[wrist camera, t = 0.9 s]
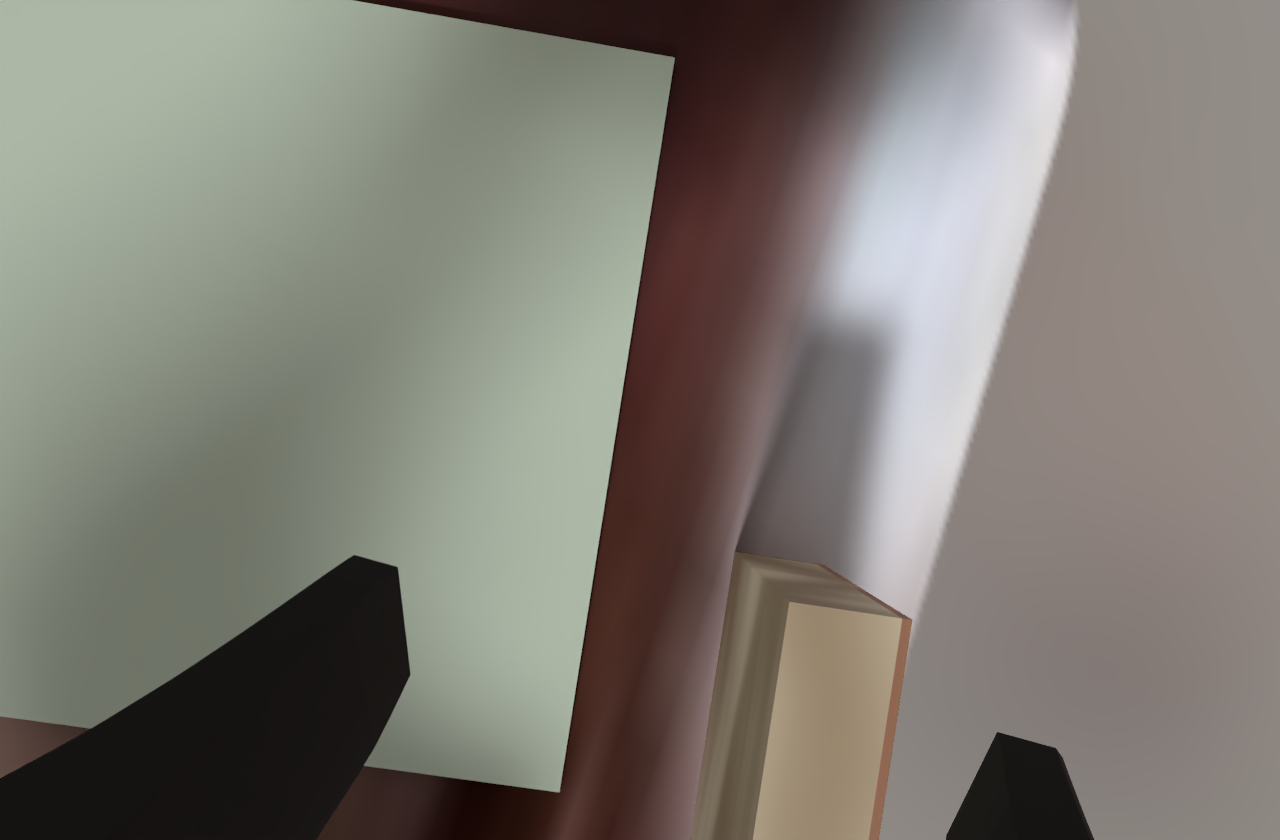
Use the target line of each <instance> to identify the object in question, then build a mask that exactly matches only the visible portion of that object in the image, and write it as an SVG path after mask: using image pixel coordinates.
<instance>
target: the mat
mask: <svg viewBox="0 0 1280 840" xmlns="http://www.w3.org/2000/svg"><path fill="white" fill-rule="evenodd" d="M674 60H675V57H669V56H664V55H658V54H652V53H647V52H641V51H635V50H630V49H624V48H619V47H613V46H607V45H602V44H596V43H590V42H585V41H579V40H574V39H568V38H562V37H557V36H551V35H545V34H540V33H534V32H529V31H523V30H517V29H512V28H506V27H500V26H495V25H489V24H484V23H478V22H472V21H467V20H461V19H455V18H450V17H444V16H439V15H433V14H427V13H422V12H416V11H410V10H405V9H399V8H394V7H388V6H382V5H377V4H371V3H365V2H360V1H354V0H0V716H1V717H9V718H16V719H23V720H31V721H38V722H45V723H53V724H60V725H67V726H75V727H82V728H89V729H91V728H92V727H94V726H96V725H98V724H99V723H101V722H103V721H104V720H106V719H108V718H109V717H111V716H112V715H114V714H116V713H117V712H119V711H121V710H122V709H124V708H125V707H127V706H129V705H130V704H132V703H134V702H135V701H137V700H138V699H140V698H142V697H143V696H145V695H147V694H148V693H150V692H151V691H153V690H155V689H156V688H158V687H159V686H161V685H163V684H164V683H166V682H168V681H169V680H171V679H172V678H174V677H175V676H177V675H179V674H180V673H182V672H183V671H185V670H186V669H188V668H189V667H191V666H192V665H194V664H195V663H197V662H198V661H200V660H201V659H203V658H204V657H206V656H207V655H209V654H210V653H212V652H213V651H215V650H216V649H218V648H219V647H221V646H222V645H224V644H225V643H227V642H228V641H230V640H231V639H233V638H234V637H236V636H237V635H239V634H240V633H242V632H243V631H245V630H246V629H247V628H249V627H250V626H252V625H253V624H255V623H256V622H258V621H259V620H260V619H262V618H263V617H265V616H266V615H268V614H269V613H271V612H272V611H273V610H275V609H276V608H278V607H279V606H281V605H282V604H283V603H285V602H286V601H288V600H289V599H291V598H292V597H293V596H295V595H296V594H298V593H299V592H300V591H302V590H303V589H305V588H306V587H308V586H309V585H310V584H312V583H313V582H315V581H316V580H318V579H319V578H320V577H322V576H323V575H325V574H326V573H328V572H329V571H331V570H332V569H333V568H335V567H336V566H338V565H339V564H341V563H342V562H344V561H345V560H347V559H348V558H350V557H351V556H353V555H356V556H360V557H364V558H367V559H371V560H375V561H378V562H382V563H385V564H389V565H393V566H396V567H398V572H399V581H400V589H401V598H402V606H403V615H404V623H405V632H406V640H407V649H408V657H409V666H410V674H411V675H410V677H409V679H408V681H407V683H406V685H405V687H404V689H403V691H402V694H401V696H400V698H399V700H398V702H397V704H396V706H395V708H394V710H393V712H392V714H391V717H390V718H389V720H388V722H387V724H386V726H385V728H384V730H383V732H382V734H381V736H380V738H379V740H378V742H377V744H376V746H375V748H374V750H373V751H372V753H371V755H370V756H369V758H368V759H367V761H366V763H365V764H364V766H369V767H376V768H383V769H391V770H398V771H405V772H413V773H420V774H428V775H435V776H442V777H450V778H457V779H464V780H472V781H479V782H486V783H494V784H501V785H508V786H516V787H523V788H530V789H538V790H545V791H552V792H560V786H561V780H562V774H563V767H564V761H565V755H566V748H567V742H568V735H569V729H570V723H571V716H572V710H573V704H574V697H575V691H576V684H577V678H578V672H579V665H580V659H581V653H582V646H583V640H584V634H585V627H586V621H587V614H588V608H589V602H590V595H591V589H592V583H593V576H594V570H595V563H596V557H597V551H598V544H599V538H600V532H601V525H602V519H603V513H604V506H605V500H606V493H607V487H608V481H609V474H610V468H611V462H612V455H613V449H614V442H615V436H616V430H617V423H618V417H619V411H620V404H621V398H622V391H623V385H624V379H625V372H626V366H627V360H628V353H629V347H630V341H631V334H632V328H633V321H634V315H635V309H636V302H637V296H638V290H639V283H640V277H641V270H642V264H643V258H644V251H645V245H646V239H647V232H648V226H649V220H650V213H651V207H652V200H653V194H654V188H655V181H656V175H657V169H658V162H659V156H660V149H661V143H662V137H663V130H664V124H665V118H666V111H667V105H668V98H669V92H670V86H671V79H672V73H673V67H674Z"/></svg>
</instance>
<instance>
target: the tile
mask: <svg viewBox="0 0 1280 840" xmlns="http://www.w3.org/2000/svg"><path fill="white" fill-rule="evenodd" d="M911 624H912V620H911V619H910V618H908V617H907V616H905V615H903V614H902V613H900V612H898V611H897V610H895V609H894V608H892V607H890V606H889V605H887V604H886V603H884V602H882V601H881V600H879V599H877V598H876V597H874V596H873V595H871V594H869V593H868V592H866V591H864V590H863V589H861V588H860V587H858V586H856V585H855V584H853V583H852V582H850V581H848V580H847V579H845V578H843V577H842V576H840V575H839V574H837V573H835V572H834V571H832V570H830V569H829V568H827V567H826V566H824V565H819V564H813V563H806V562H800V561H793V560H786V559H780V558H773V557H766V556H760V555H753V554H746V553H740V552H735V553H734V560H733V566H732V573H731V579H730V585H729V592H728V598H727V605H726V611H725V618H724V624H723V631H722V637H721V644H720V650H719V656H718V663H717V669H716V676H715V682H714V689H713V695H712V702H711V708H710V715H709V721H708V727H707V734H706V740H705V747H704V753H703V760H702V766H701V773H700V779H699V785H698V792H697V798H696V805H695V811H694V818H693V824H692V831H691V837H690V840H879V834H880V828H881V821H882V814H883V808H884V801H885V794H886V788H887V781H888V775H889V768H890V761H891V755H892V749H893V742H894V735H895V729H896V723H897V716H898V710H899V703H900V696H901V690H902V683H903V677H904V670H905V664H906V657H907V651H908V644H909V637H910V631H911Z"/></svg>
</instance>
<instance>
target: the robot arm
mask: <svg viewBox="0 0 1280 840" xmlns="http://www.w3.org/2000/svg"><path fill="white" fill-rule="evenodd" d="M410 675H411V674H410V666H409V657H408V649H407V640H406V632H405V623H404V615H403V606H402V598H401V589H400V581H399V572H398V567H396V566H393V565H389V564H385V563H382V562H378V561H375V560H371V559H367V558H364V557H360V556H356V555H353V556H351V557H350V558H348V559H347V560H345V561H344V562H342V563H341V564H339V565H338V566H336V567H335V568H333V569H332V570H331V571H329V572H328V573H326V574H325V575H323V576H322V577H320V578H319V579H318V580H316V581H315V582H313V583H312V584H310V585H309V586H308V587H306V588H305V589H303V590H302V591H300V592H299V593H298V594H296V595H295V596H293V597H292V598H291V599H289V600H288V601H286V602H285V603H283V604H282V605H281V606H279V607H278V608H276V609H275V610H273V611H272V612H271V613H269V614H268V615H266V616H265V617H263V618H262V619H260V620H259V621H258V622H256V623H255V624H253V625H252V626H250V627H249V628H247V629H246V630H245V631H243V632H242V633H240V634H239V635H237V636H236V637H234V638H233V639H231V640H230V641H228V642H227V643H225V644H224V645H222V646H221V647H219V648H218V649H216V650H215V651H213V652H212V653H210V654H209V655H207V656H206V657H204V658H203V659H201V660H200V661H198V662H197V663H195V664H194V665H192V666H191V667H189V668H188V669H186V670H185V671H183V672H182V673H180V674H179V675H177V676H175V677H174V678H172V679H171V680H169V681H168V682H166V683H164V684H163V685H161V686H159V687H158V688H156V689H155V690H153V691H151V692H150V693H148V694H147V695H145V696H143V697H142V698H140V699H138V700H137V701H135V702H134V703H132V704H130V705H129V706H127V707H125V708H124V709H122V710H121V711H119V712H117V713H116V714H114V715H112V716H111V717H109V718H108V719H106V720H104V721H103V722H101V723H99V724H98V725H96V726H94V727H92V728H91V729H89V730H87V731H86V732H84V733H82V734H80V735H79V736H77V737H75V738H73V739H72V740H70V741H68V742H66V743H65V744H63V745H61V746H59V747H57V748H56V749H54V750H52V751H50V752H48V753H47V754H45V755H43V756H41V757H39V758H37V759H36V760H34V761H32V762H30V763H28V764H26V765H24V766H23V767H21V768H19V769H17V770H15V771H13V772H11V773H9V774H8V775H6V776H4V777H2V778H0V840H316V838H317V837H318V835H319V834H320V832H321V831H322V829H323V828H324V826H325V825H326V823H327V822H328V820H329V819H330V817H331V815H332V814H333V812H334V811H335V809H336V808H337V806H338V805H339V803H340V802H341V800H342V798H343V797H344V795H345V794H346V792H347V791H348V789H349V788H350V786H351V784H352V783H353V781H354V780H355V778H356V777H357V775H358V774H359V772H360V770H361V769H362V767H363V766H364V764H365V763H366V761H367V759H368V758H369V756H370V755H371V753H372V751H373V750H374V748H375V746H376V744H377V742H378V740H379V738H380V736H381V734H382V732H383V730H384V728H385V726H386V724H387V722H388V720H389V718H390V717H391V714H392V712H393V710H394V708H395V706H396V704H397V702H398V700H399V698H400V696H401V694H402V691H403V689H404V687H405V685H406V683H407V681H408V679H409V677H410ZM946 840H1094V838H1093V836H1092V833H1091V831H1090V828H1089V826H1088V823H1087V821H1086V818H1085V816H1084V813H1083V811H1082V808H1081V806H1080V803H1079V800H1078V798H1077V795H1076V792H1075V790H1074V787H1073V785H1072V782H1071V779H1070V777H1069V774H1068V771H1067V768H1066V766H1065V763H1064V760H1063V758H1062V756H1061V755H1060V753H1059V752H1058V751H1057V749H1056V748H1053V747H1050V746H1046V745H1042V744H1039V743H1035V742H1031V741H1028V740H1024V739H1021V738H1017V737H1013V736H1009V735H1006V734H1002V733H999V732H997V734H996V736H995V738H994V740H993V742H992V744H991V746H990V748H989V750H988V752H987V754H986V756H985V758H984V760H983V762H982V764H981V766H980V768H979V770H978V772H977V774H976V777H975V779H974V780H973V783H972V784H971V787H970V789H969V791H968V793H967V795H966V797H965V799H964V801H963V803H962V805H961V807H960V809H959V811H958V813H957V815H956V817H955V819H954V821H953V823H952V825H951V827H950V829H949V831H948V833H947V836H946Z"/></svg>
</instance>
